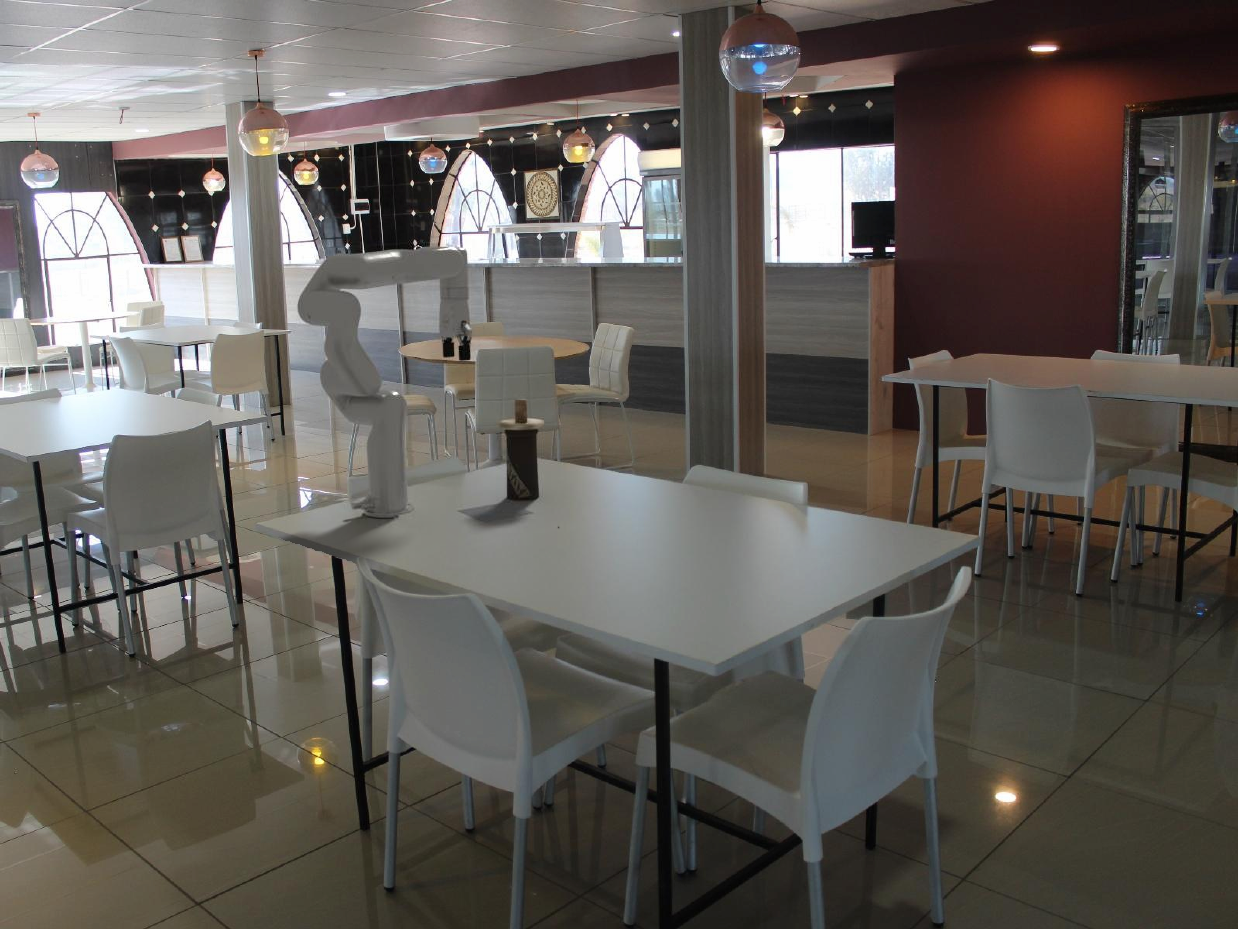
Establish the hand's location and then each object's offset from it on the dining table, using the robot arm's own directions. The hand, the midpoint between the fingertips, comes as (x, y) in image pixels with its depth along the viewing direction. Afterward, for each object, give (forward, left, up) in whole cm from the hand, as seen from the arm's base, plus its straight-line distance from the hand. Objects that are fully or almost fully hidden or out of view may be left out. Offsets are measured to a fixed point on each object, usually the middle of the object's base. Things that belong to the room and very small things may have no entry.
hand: (456, 358), depth 297 cm
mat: (-6, -28, -37) cm, 47 cm away
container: (+8, -19, -37) cm, 42 cm away
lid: (+8, -19, -17) cm, 27 cm away
